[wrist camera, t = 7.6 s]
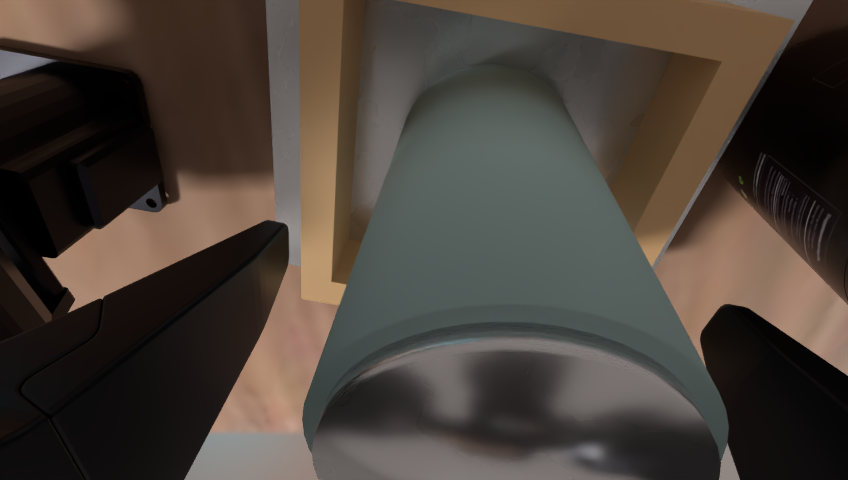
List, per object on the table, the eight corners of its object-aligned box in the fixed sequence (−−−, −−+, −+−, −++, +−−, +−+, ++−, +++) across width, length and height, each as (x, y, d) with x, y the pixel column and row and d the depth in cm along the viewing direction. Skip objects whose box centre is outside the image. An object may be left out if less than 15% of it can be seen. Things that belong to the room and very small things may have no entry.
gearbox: (308, 210, 21) (252, 305, 16) (309, -135, 14) (205, -178, 8) (599, 262, 21) (642, 374, 16) (752, -50, 14) (927, -40, 8)
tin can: (391, 211, 16) (295, 537, 7) (412, 47, 13) (287, 287, 4) (543, 238, 16) (624, 593, 7) (602, 82, 13) (868, 390, 4)
